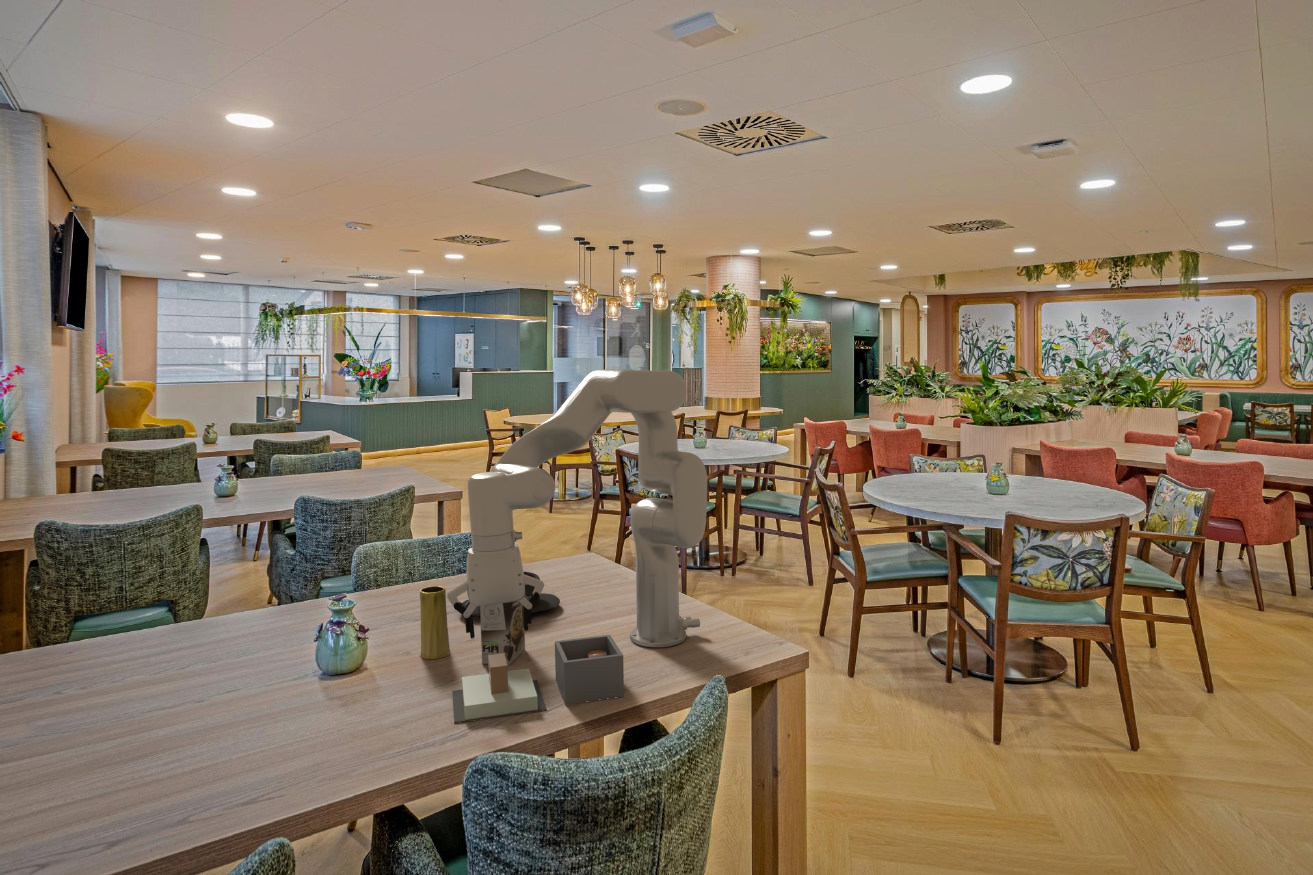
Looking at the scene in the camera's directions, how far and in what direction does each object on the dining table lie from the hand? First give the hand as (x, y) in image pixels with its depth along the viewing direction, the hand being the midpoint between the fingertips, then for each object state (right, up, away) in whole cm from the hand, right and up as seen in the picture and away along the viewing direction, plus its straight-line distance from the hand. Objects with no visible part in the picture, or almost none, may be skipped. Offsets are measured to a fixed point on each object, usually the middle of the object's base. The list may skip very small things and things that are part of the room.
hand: (499, 632), depth 139 cm
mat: (0, -13, +1) cm, 13 cm away
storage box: (+16, -12, +6) cm, 21 cm away
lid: (0, -13, +1) cm, 13 cm away
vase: (-19, -11, +24) cm, 32 cm away
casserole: (-8, -8, +50) cm, 52 cm away
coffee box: (-3, -11, +22) cm, 25 cm away
